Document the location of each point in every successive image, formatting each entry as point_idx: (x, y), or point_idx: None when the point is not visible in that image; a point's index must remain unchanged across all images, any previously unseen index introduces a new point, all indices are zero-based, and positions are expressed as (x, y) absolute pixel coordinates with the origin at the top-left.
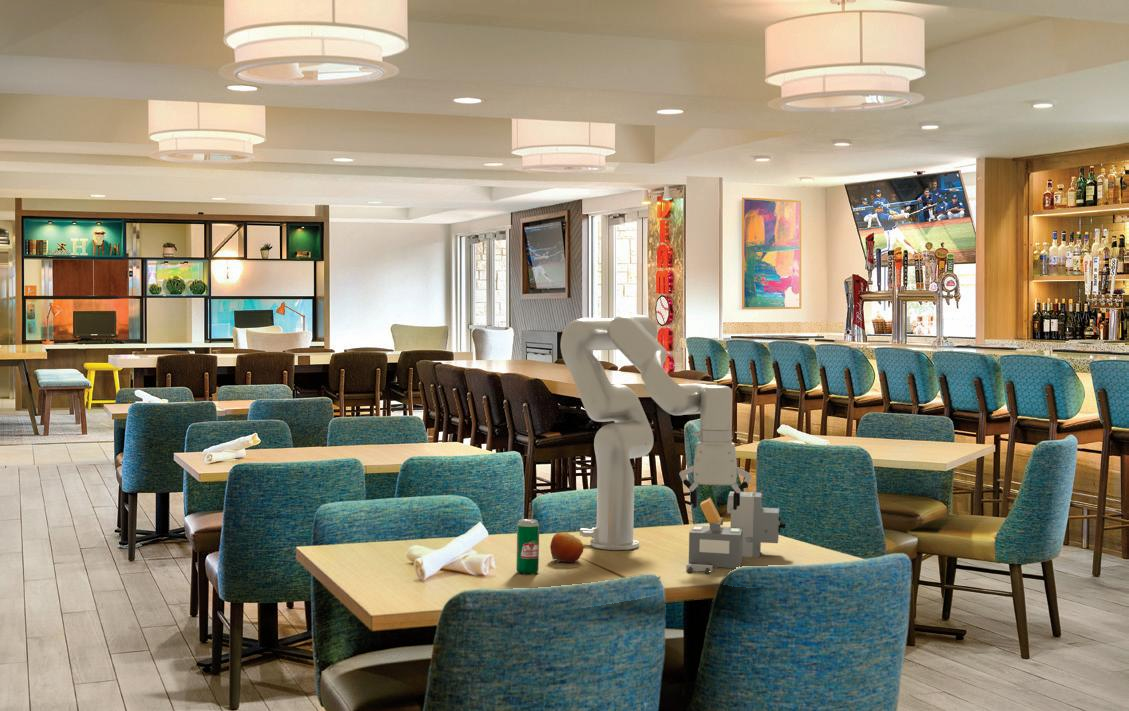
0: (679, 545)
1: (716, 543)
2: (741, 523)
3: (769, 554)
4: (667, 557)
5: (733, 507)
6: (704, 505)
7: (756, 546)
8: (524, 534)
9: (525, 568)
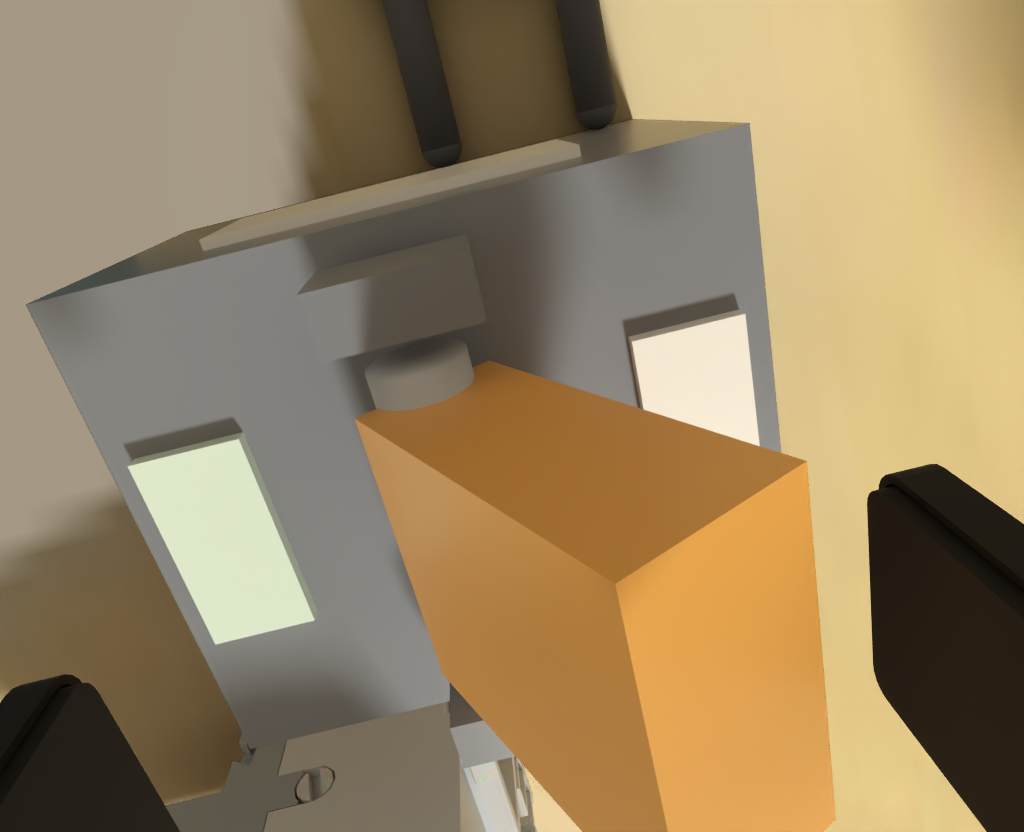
0: (859, 758)
1: (366, 195)
2: None
3: None
4: (873, 368)
5: (60, 701)
6: (688, 485)
7: (256, 756)
8: None
9: None
